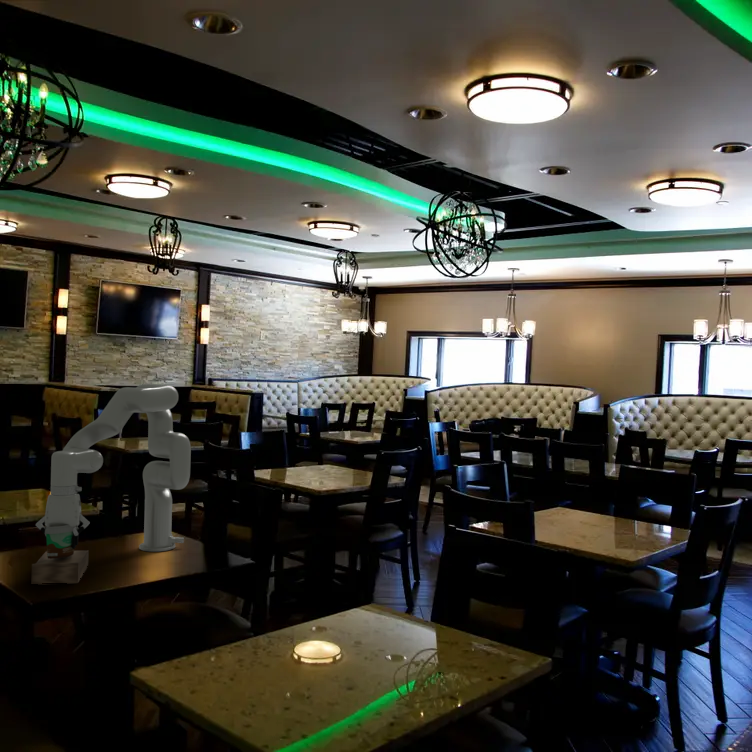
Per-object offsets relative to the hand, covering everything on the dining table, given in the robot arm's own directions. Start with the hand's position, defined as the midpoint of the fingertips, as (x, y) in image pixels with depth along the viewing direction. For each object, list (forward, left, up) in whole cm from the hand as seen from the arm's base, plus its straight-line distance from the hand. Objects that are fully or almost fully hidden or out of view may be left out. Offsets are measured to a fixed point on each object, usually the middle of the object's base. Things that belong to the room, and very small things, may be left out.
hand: (62, 547), depth 228 cm
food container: (-1, 0, -3) cm, 3 cm away
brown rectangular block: (0, 0, -9) cm, 9 cm away
